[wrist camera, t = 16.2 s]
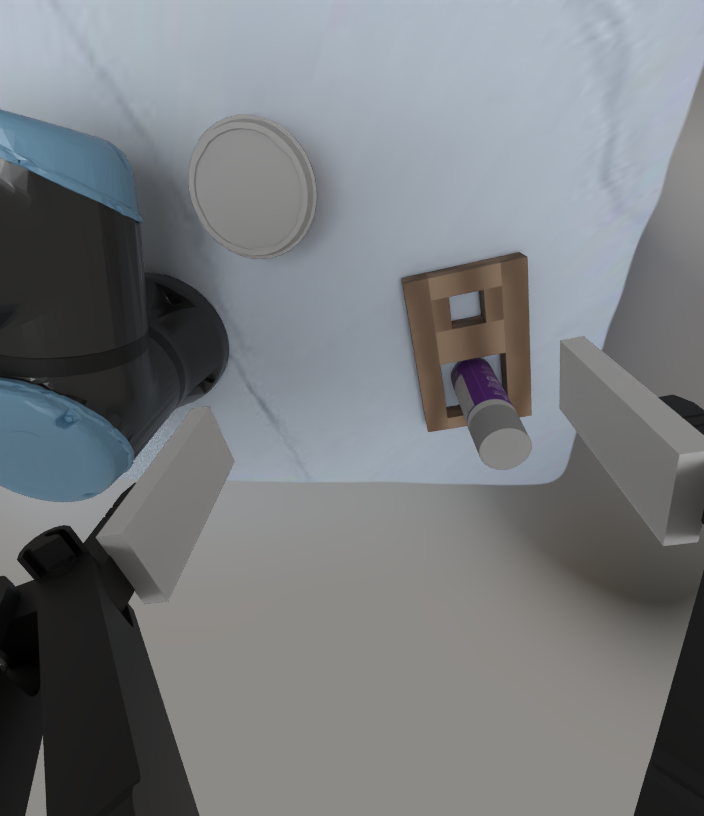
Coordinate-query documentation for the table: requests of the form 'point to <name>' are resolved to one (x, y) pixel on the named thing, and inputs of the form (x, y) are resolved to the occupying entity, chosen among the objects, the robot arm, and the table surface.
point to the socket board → (471, 330)
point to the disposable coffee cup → (252, 186)
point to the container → (490, 415)
